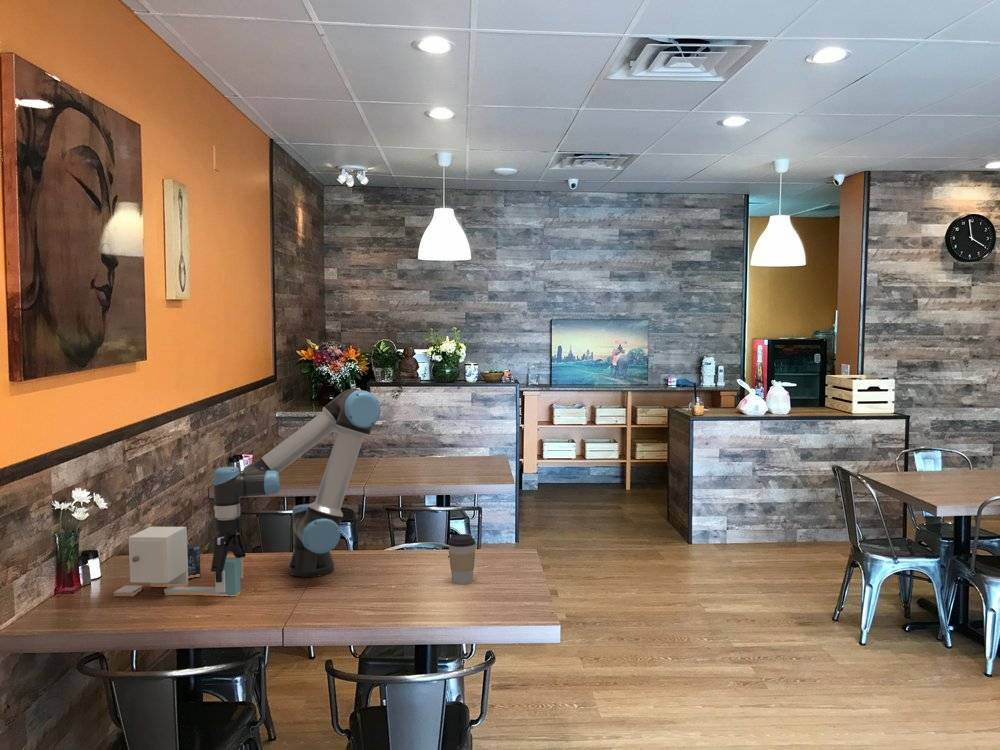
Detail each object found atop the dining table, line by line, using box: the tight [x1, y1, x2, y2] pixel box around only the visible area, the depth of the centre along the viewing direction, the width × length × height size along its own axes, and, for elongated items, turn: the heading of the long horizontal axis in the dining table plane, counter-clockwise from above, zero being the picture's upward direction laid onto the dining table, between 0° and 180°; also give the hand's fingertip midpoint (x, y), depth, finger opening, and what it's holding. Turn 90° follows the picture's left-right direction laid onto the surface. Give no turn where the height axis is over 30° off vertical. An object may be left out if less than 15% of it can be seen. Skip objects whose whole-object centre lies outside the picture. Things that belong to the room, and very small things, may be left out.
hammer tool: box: [163, 557, 242, 595], centre depth 244 cm, size 23×4×11 cm, turn 86°
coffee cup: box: [447, 533, 477, 585], centre depth 254 cm, size 9×9×15 cm
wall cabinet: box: [128, 526, 189, 585], centre depth 245 cm, size 12×14×20 cm
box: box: [187, 543, 201, 576], centre depth 261 cm, size 8×6×11 cm
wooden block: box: [113, 585, 144, 594], centre depth 246 cm, size 6×6×2 cm
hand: (229, 584), depth 244 cm, fingers open, 13 cm apart
